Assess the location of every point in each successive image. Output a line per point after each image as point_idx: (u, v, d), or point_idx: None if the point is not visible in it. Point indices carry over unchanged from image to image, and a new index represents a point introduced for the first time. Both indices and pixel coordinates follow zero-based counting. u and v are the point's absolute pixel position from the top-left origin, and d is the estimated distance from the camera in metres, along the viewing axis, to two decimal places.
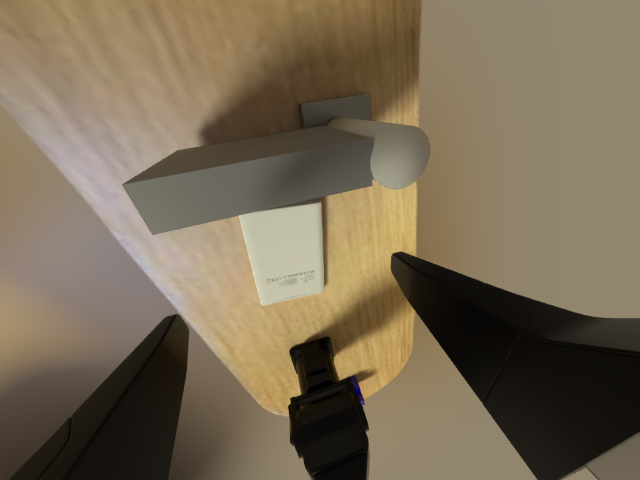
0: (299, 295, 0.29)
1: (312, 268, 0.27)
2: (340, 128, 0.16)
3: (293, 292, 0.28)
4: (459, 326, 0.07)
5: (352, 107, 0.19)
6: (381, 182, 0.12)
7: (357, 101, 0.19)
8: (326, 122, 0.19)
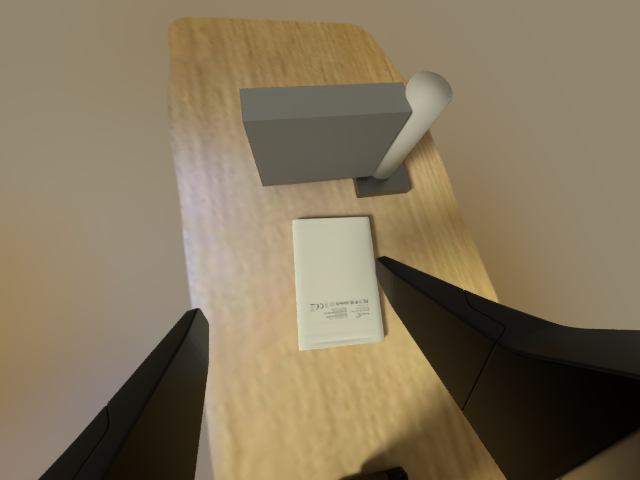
0: (350, 340, 0.21)
1: (365, 296, 0.22)
2: None
3: (342, 333, 0.21)
4: (438, 333, 0.07)
5: None
6: (418, 102, 0.15)
7: None
8: None
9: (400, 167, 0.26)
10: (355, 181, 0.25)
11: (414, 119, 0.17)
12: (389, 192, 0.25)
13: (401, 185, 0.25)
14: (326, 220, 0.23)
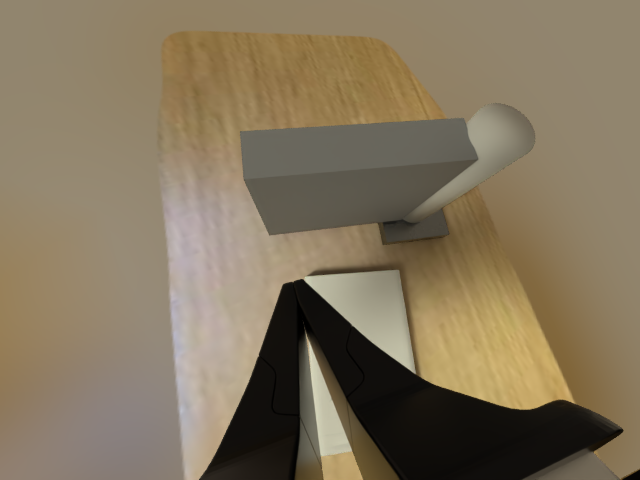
0: None
1: None
2: None
3: None
4: (326, 373, 0.06)
5: None
6: (490, 148, 0.11)
7: None
8: None
9: None
10: (381, 225, 0.21)
11: (478, 167, 0.12)
12: (422, 238, 0.21)
13: (437, 230, 0.21)
14: (347, 276, 0.19)
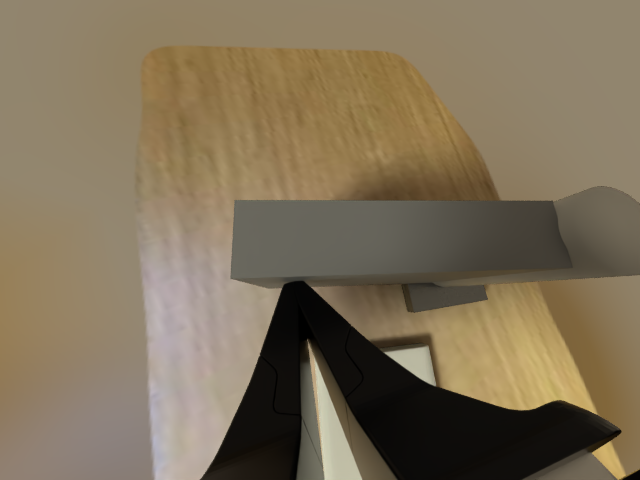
0: None
1: None
2: None
3: None
4: (325, 373, 0.06)
5: None
6: (596, 257, 0.07)
7: None
8: None
9: None
10: (405, 288, 0.17)
11: (565, 271, 0.09)
12: (455, 304, 0.17)
13: (474, 294, 0.17)
14: None
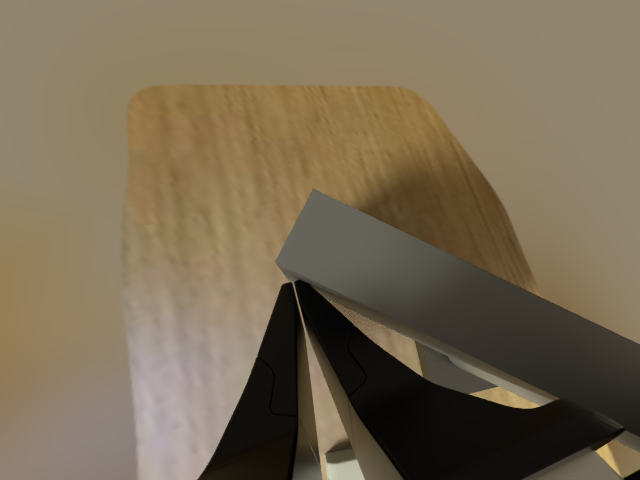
0: None
1: None
2: None
3: None
4: (328, 372, 0.06)
5: None
6: None
7: None
8: None
9: None
10: (425, 370, 0.16)
11: (631, 437, 0.07)
12: (480, 387, 0.16)
13: None
14: None
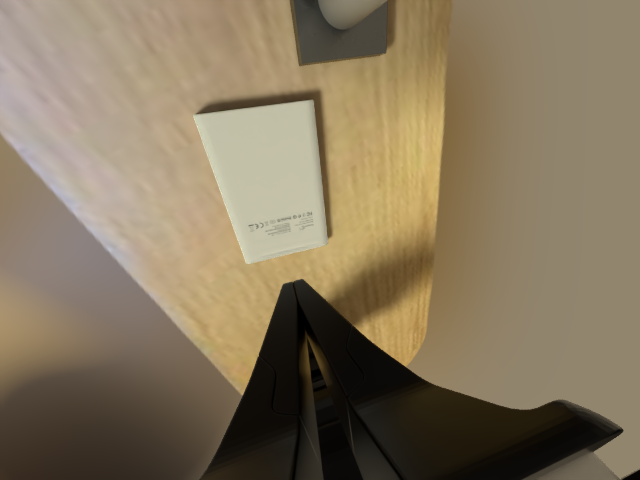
0: (295, 249, 0.22)
1: (309, 209, 0.20)
2: None
3: (287, 245, 0.21)
4: (326, 373, 0.06)
5: None
6: None
7: None
8: None
9: None
10: (295, 30, 0.14)
11: None
12: (351, 58, 0.16)
13: (372, 44, 0.15)
14: (248, 112, 0.15)
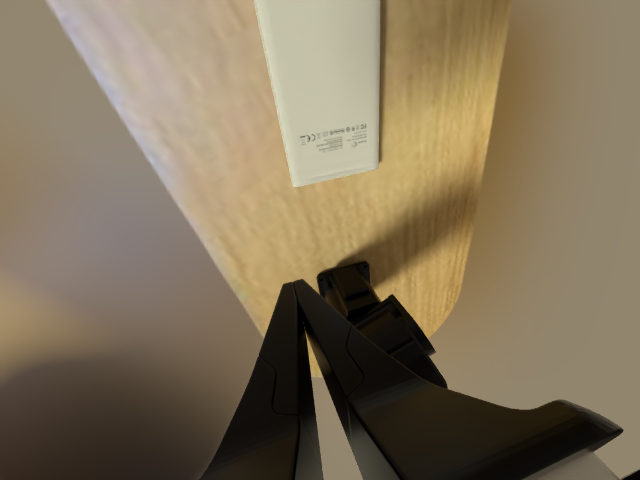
0: (345, 172, 0.20)
1: (364, 120, 0.18)
2: None
3: (337, 165, 0.20)
4: (326, 373, 0.06)
5: None
6: None
7: None
8: None
9: None
10: None
11: None
12: None
13: None
14: None
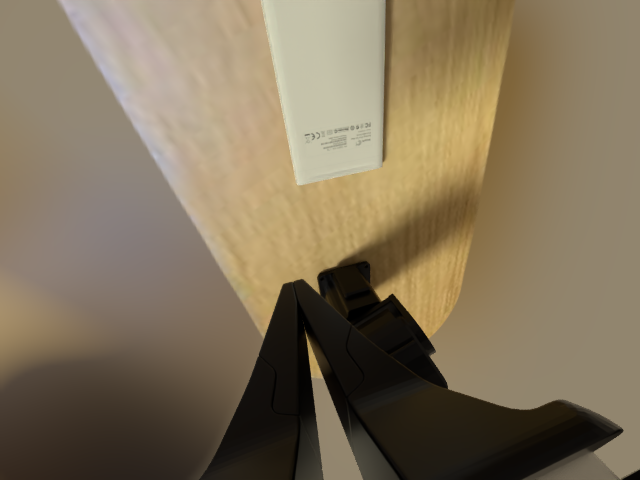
0: (349, 170, 0.20)
1: (368, 118, 0.18)
2: None
3: (341, 164, 0.20)
4: (326, 373, 0.06)
5: None
6: None
7: None
8: None
9: None
10: None
11: None
12: None
13: None
14: None
